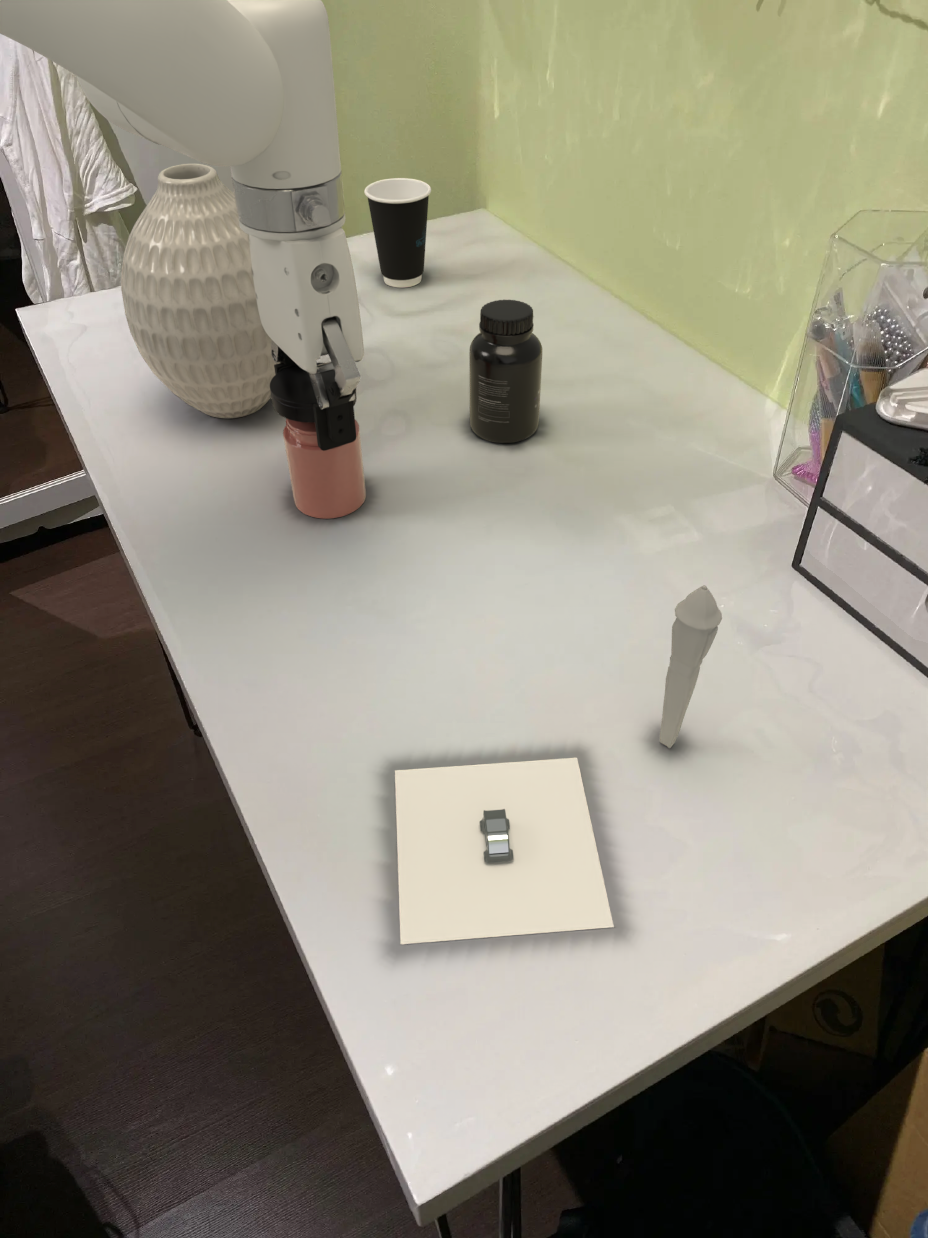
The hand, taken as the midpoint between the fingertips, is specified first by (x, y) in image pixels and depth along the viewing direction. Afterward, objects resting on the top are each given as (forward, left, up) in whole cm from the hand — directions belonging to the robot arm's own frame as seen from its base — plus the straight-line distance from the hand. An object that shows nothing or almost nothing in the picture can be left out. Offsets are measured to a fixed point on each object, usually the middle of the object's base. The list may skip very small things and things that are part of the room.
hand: (317, 422), depth 76 cm
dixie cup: (+14, +45, -8) cm, 48 cm away
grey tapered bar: (+19, -33, -8) cm, 39 cm away
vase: (-8, +19, -8) cm, 22 cm away
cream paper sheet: (+6, -38, -8) cm, 39 cm away
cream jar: (0, 0, -8) cm, 8 cm away
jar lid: (0, 0, +3) cm, 3 cm away
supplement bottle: (+18, +8, -8) cm, 22 cm away
